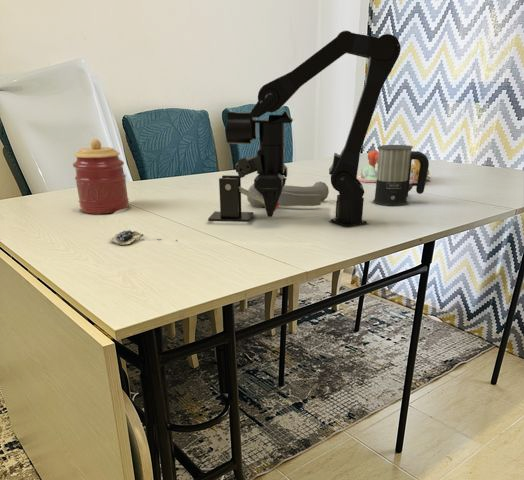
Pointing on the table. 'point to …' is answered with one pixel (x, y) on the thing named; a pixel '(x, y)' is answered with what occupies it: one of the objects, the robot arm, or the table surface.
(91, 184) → the kitchen canister
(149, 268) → the table surface
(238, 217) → the bracket
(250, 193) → the tap lever
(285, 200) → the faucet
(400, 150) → the milk frother
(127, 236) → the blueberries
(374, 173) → the candy landscape model
